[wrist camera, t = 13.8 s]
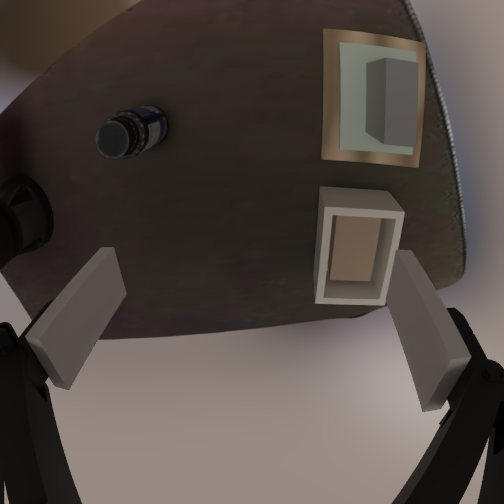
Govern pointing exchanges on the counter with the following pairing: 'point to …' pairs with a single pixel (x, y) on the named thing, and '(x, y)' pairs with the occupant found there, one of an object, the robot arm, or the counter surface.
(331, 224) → the storage box
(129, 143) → the pill bottle
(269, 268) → the counter surface
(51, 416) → the robot arm
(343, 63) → the green base grey block
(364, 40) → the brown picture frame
